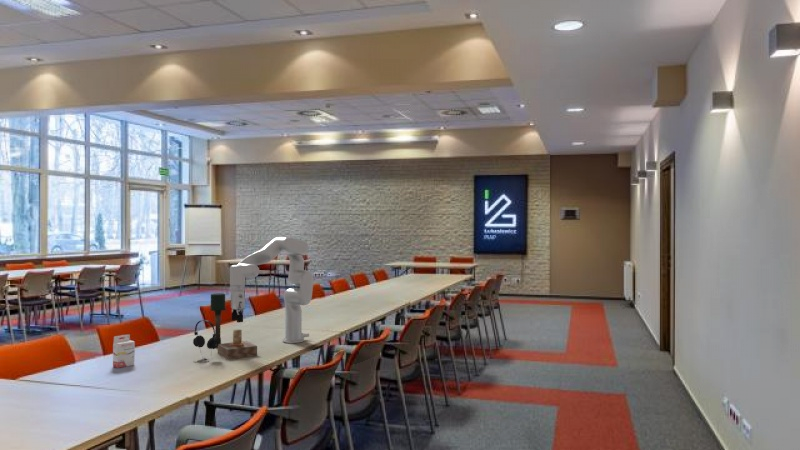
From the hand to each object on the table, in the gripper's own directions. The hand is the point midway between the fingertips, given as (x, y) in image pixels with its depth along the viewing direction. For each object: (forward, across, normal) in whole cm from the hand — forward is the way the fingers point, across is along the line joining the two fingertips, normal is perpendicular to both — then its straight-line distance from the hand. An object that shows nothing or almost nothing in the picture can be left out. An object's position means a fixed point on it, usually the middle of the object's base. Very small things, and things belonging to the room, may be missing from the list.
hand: (237, 320), depth 304 cm
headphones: (+18, -2, +19) cm, 26 cm away
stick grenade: (+18, +24, +3) cm, 30 cm away
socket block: (+18, 0, 0) cm, 18 cm away
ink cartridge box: (+18, +7, +54) cm, 57 cm away
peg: (+18, 0, 0) cm, 18 cm away
